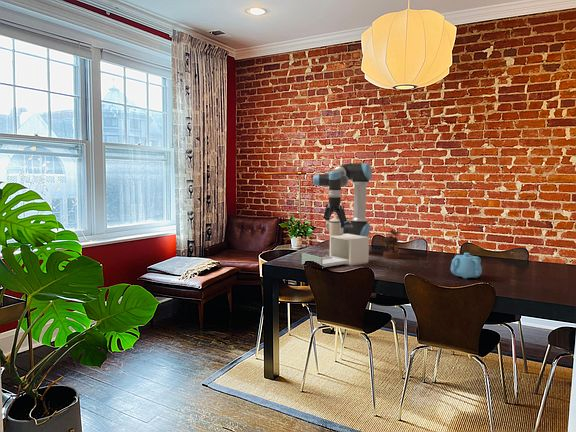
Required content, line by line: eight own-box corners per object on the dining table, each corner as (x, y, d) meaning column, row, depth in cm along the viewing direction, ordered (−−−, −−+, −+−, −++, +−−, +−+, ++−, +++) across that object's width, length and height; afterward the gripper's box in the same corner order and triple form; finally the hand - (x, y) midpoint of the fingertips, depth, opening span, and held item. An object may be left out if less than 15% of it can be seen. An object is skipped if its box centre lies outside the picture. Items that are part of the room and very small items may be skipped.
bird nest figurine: (403, 257, 297) (403, 229, 293) (396, 261, 288) (396, 232, 285) (383, 254, 306) (383, 227, 303) (376, 258, 298) (375, 230, 295)
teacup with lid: (346, 234, 270) (346, 215, 269) (339, 236, 263) (339, 217, 261) (329, 232, 277) (329, 214, 275) (322, 234, 269) (322, 216, 268)
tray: (301, 264, 273) (301, 252, 272) (330, 259, 286) (330, 249, 286) (321, 269, 257) (321, 257, 256) (350, 265, 271) (350, 253, 270)
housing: (329, 260, 286) (329, 235, 285) (347, 257, 296) (347, 233, 294) (350, 265, 270) (350, 239, 269) (368, 262, 279) (369, 237, 278)
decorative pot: (484, 276, 246) (485, 252, 245) (478, 281, 233) (479, 256, 232) (454, 272, 255) (455, 249, 254) (447, 277, 242) (448, 253, 241)
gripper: (317, 195, 274) (317, 229, 277) (343, 198, 255) (343, 234, 258) (326, 195, 279) (326, 228, 281) (352, 197, 260) (352, 233, 262)
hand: (334, 231), depth 270 cm, fingers closed on teacup with lid, 11 cm apart
